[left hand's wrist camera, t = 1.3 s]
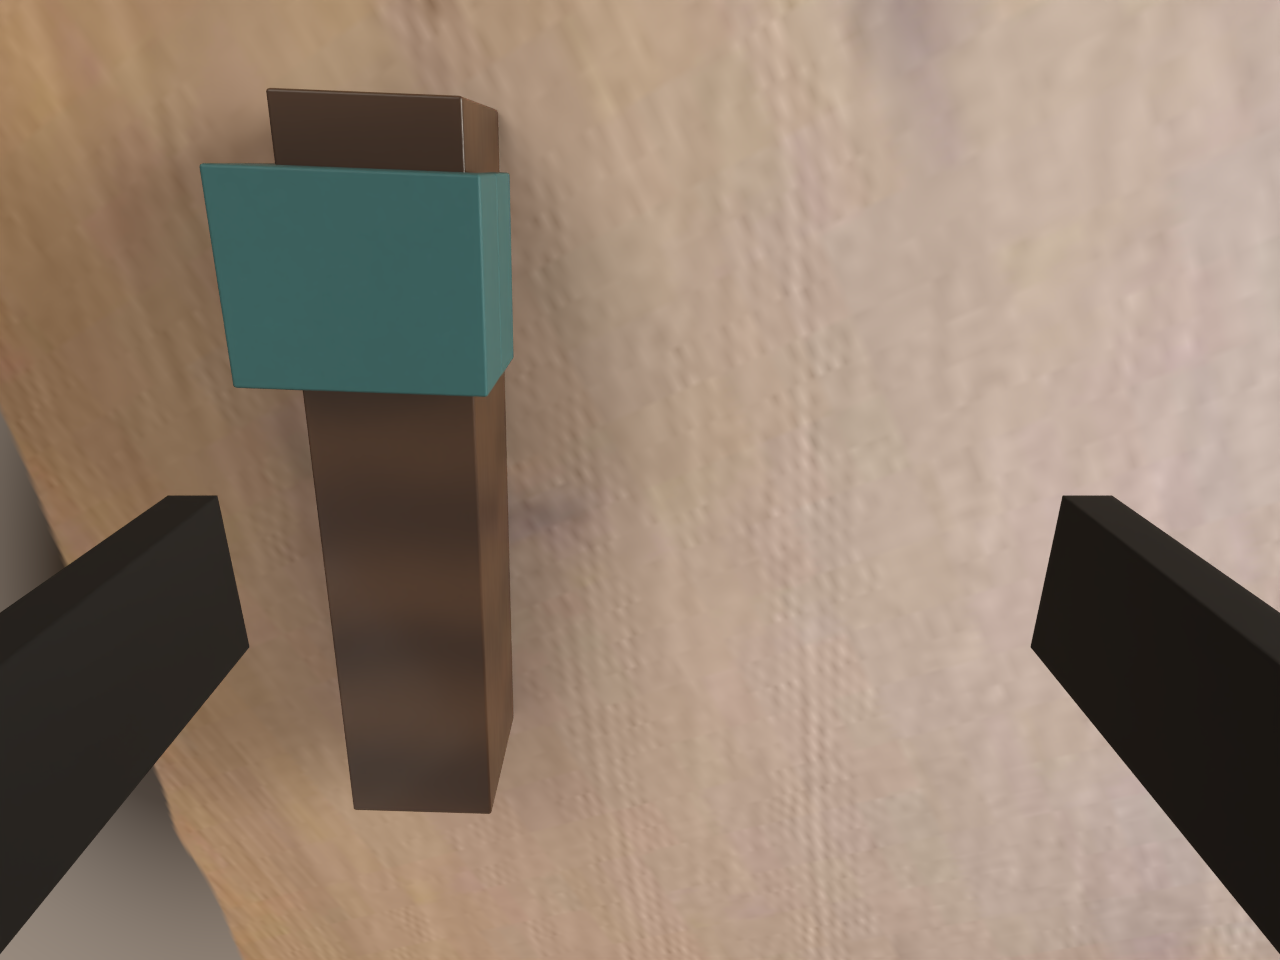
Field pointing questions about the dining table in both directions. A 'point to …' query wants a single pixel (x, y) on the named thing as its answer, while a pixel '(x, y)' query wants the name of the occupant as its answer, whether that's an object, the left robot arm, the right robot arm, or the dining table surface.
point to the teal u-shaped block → (362, 277)
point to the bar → (411, 505)
